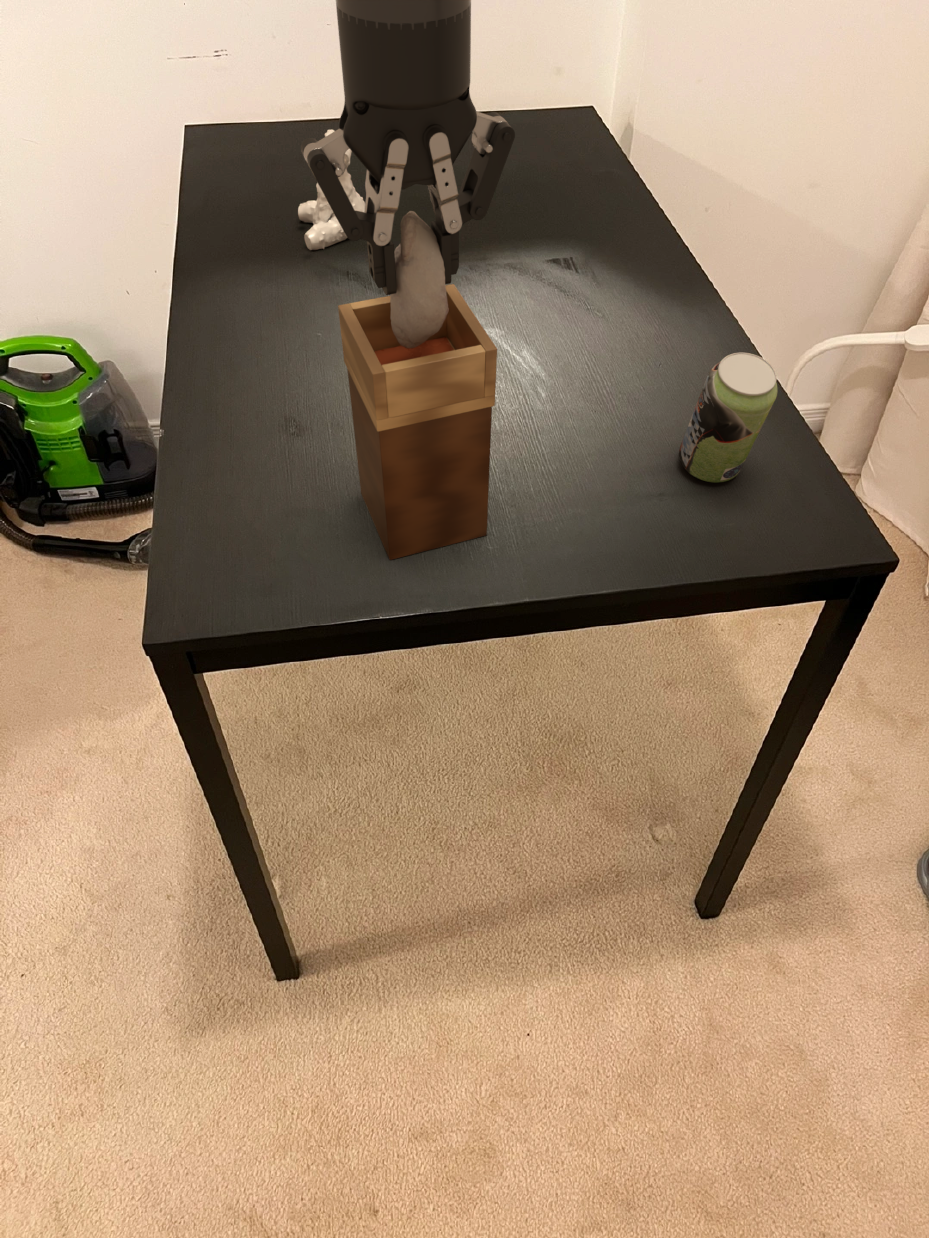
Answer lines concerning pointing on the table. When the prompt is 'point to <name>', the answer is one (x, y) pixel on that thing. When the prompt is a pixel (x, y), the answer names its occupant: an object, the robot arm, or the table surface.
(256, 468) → the table surface
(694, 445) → the beverage can
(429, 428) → the plinth
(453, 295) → the open wooden box
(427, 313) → the fossil
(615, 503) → the table surface
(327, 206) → the white creature statuette
